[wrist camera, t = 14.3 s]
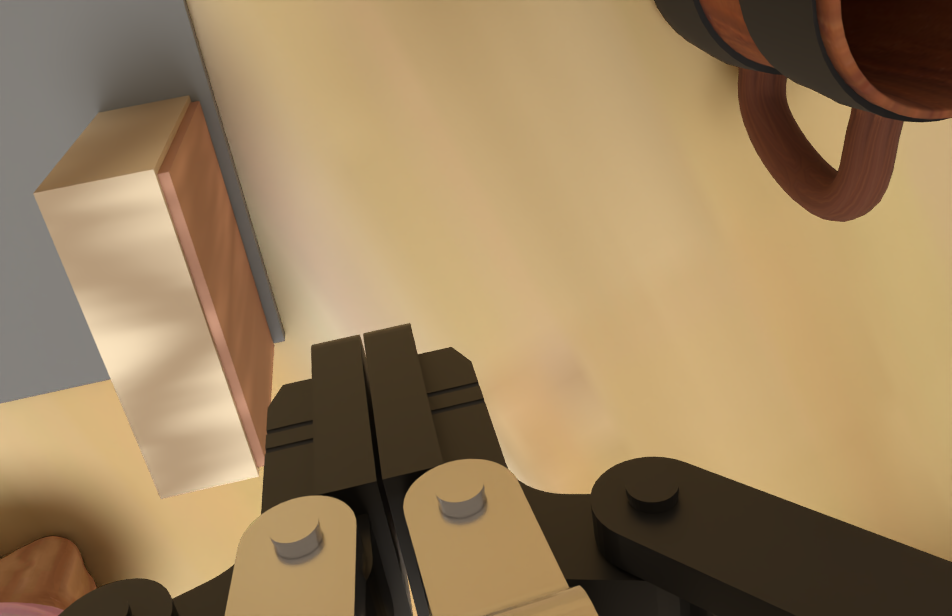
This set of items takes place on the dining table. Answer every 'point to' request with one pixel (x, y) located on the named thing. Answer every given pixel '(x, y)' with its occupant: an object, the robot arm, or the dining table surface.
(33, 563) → the cupcake
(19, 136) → the mat
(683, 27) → the mug
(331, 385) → the robot arm
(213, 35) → the dining table surface
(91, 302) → the wooden block
